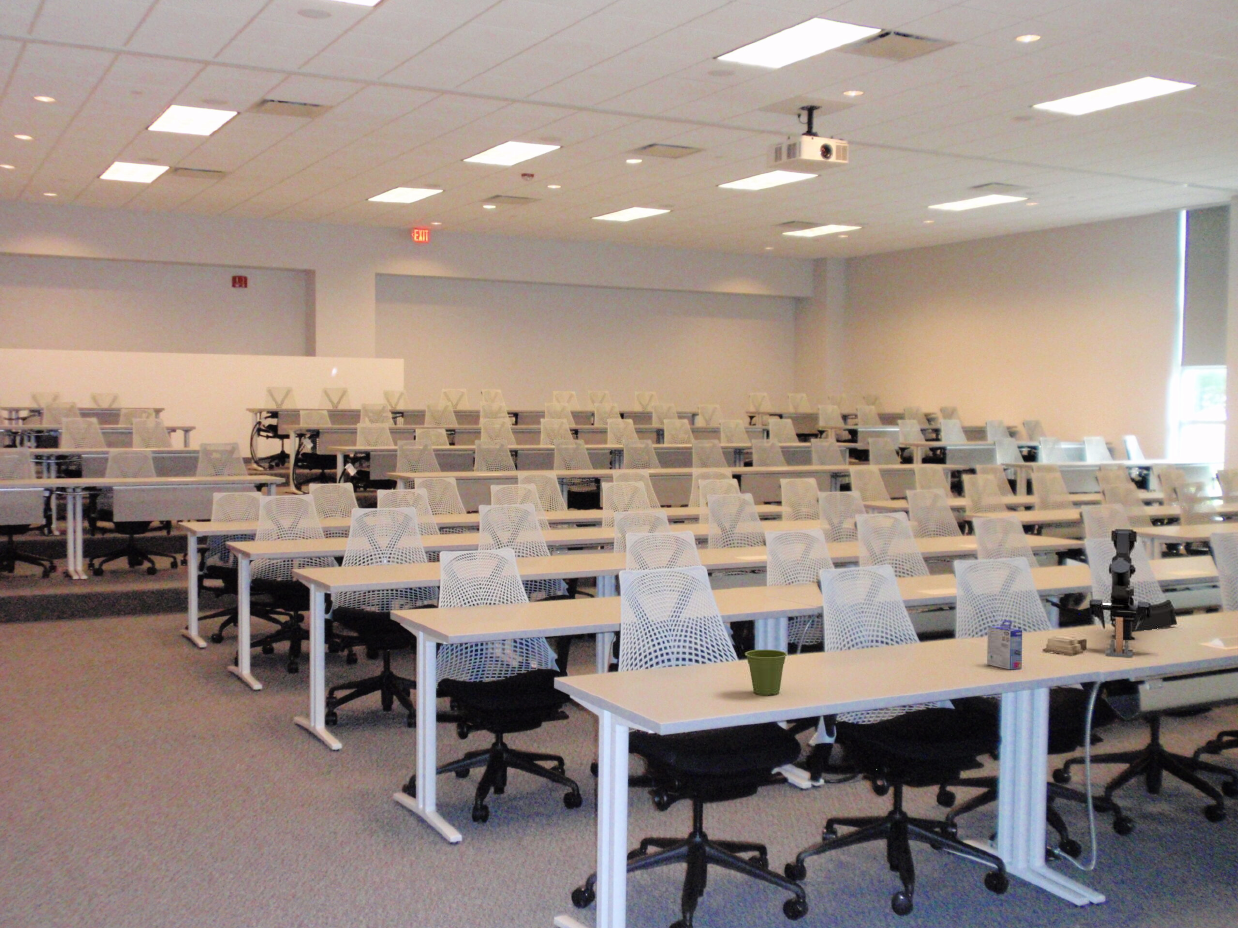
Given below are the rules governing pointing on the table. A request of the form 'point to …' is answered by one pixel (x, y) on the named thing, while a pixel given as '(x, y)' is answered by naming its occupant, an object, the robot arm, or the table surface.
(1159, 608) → the magazine
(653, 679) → the table surface
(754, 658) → the plant pot
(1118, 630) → the tall peach slab
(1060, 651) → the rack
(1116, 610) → the robot arm
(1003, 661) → the ink cartridge box
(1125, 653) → the holder
